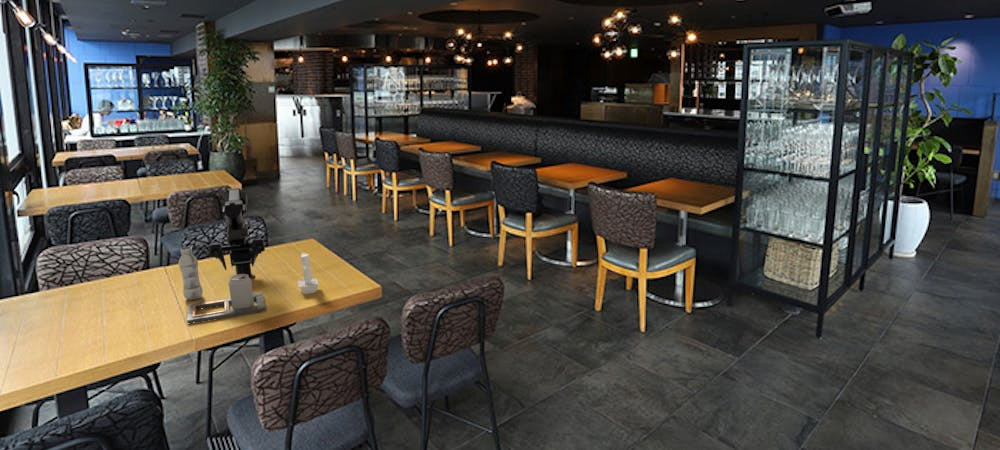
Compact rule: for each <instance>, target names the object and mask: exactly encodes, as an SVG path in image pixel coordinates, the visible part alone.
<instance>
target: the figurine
mask: <svg viewBox="0 0 1000 450" xmlns="http://www.w3.org/2000/svg"><path fill="white" fill-rule="evenodd" d="M300 261H301V266H302V272H303V280H297V281H296V282H297V285H298V288H299V289H300V290H301V292H302V294H303V295H308V294H315V293H316V292H317V290H318V287H319V285H320V283H319V281H318V279H317V278H316V277H315V278H313V276H312V268H311V265H310V264H311V259H310V254H309V253H304V252H303V253H301V254H300Z"/></svg>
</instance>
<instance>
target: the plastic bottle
mask: <svg viewBox="0 0 1000 450" xmlns="http://www.w3.org/2000/svg"><path fill="white" fill-rule="evenodd" d="M180 255H181V256H180V258H179V260H178V263H177V264H178V268H179V270H180V272H181V277H182V282H183V283H182V285H183V289H182V290H183V292H182V293H183V296H184V298H185V299H186V300H187V301H193V300H194V301H195V300H197V299H200V298H202V296H203V293H204V290H203V287H202V285H201V280H200V276H199V260H198V258H197V257H196V256H195V255H194V254H193V249H192V247H191V246H184V247H181V248H180Z"/></svg>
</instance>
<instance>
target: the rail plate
mask: <svg viewBox="0 0 1000 450" xmlns="http://www.w3.org/2000/svg"><path fill="white" fill-rule="evenodd" d="M253 299H254V302H255V301H256V305H255V306H254V305H253V306H252V307H248V308H242V309H236V310H235V309H231V310H230V305H231V306H232V303H231V297H230V298H224V299H217V300H210V301H205V302H204V301H203V302H198V303H192V304H188V310H187V320H186V321H187V324H188V323H193V322H200V323H203V322H202V321H206V322H209V321H208V320H212V321H215V320H214V319H217V320H222V319H223V320H224V319H228V318H234V317H241V316H246V315H252V314H257V313H264V312H266V311H267V310H266V304H265V299H264V296H263V292H261V293H255V294H254V293H253ZM216 306H219V307H223V306H224V310H219V311H214V312H207V313H202V314H197V310H196V309H200V310H202V309H201V308H206V309H210V308H209V307H213V308H216Z"/></svg>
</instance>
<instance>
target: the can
mask: <svg viewBox="0 0 1000 450" xmlns="http://www.w3.org/2000/svg"><path fill="white" fill-rule="evenodd" d="M229 279H230V280H229V281H228V286H229V287H228V289H229V295H230V298H231V303H232V304H231V308H232V309H233V310H236V309H242V308H248V307H254V305H255V301H254V299H253V295H254V293H253V291H254V290H253V286H252V278H249V275H247V274H238V275H236V274H235V275H231V276H230V277H229Z"/></svg>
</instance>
